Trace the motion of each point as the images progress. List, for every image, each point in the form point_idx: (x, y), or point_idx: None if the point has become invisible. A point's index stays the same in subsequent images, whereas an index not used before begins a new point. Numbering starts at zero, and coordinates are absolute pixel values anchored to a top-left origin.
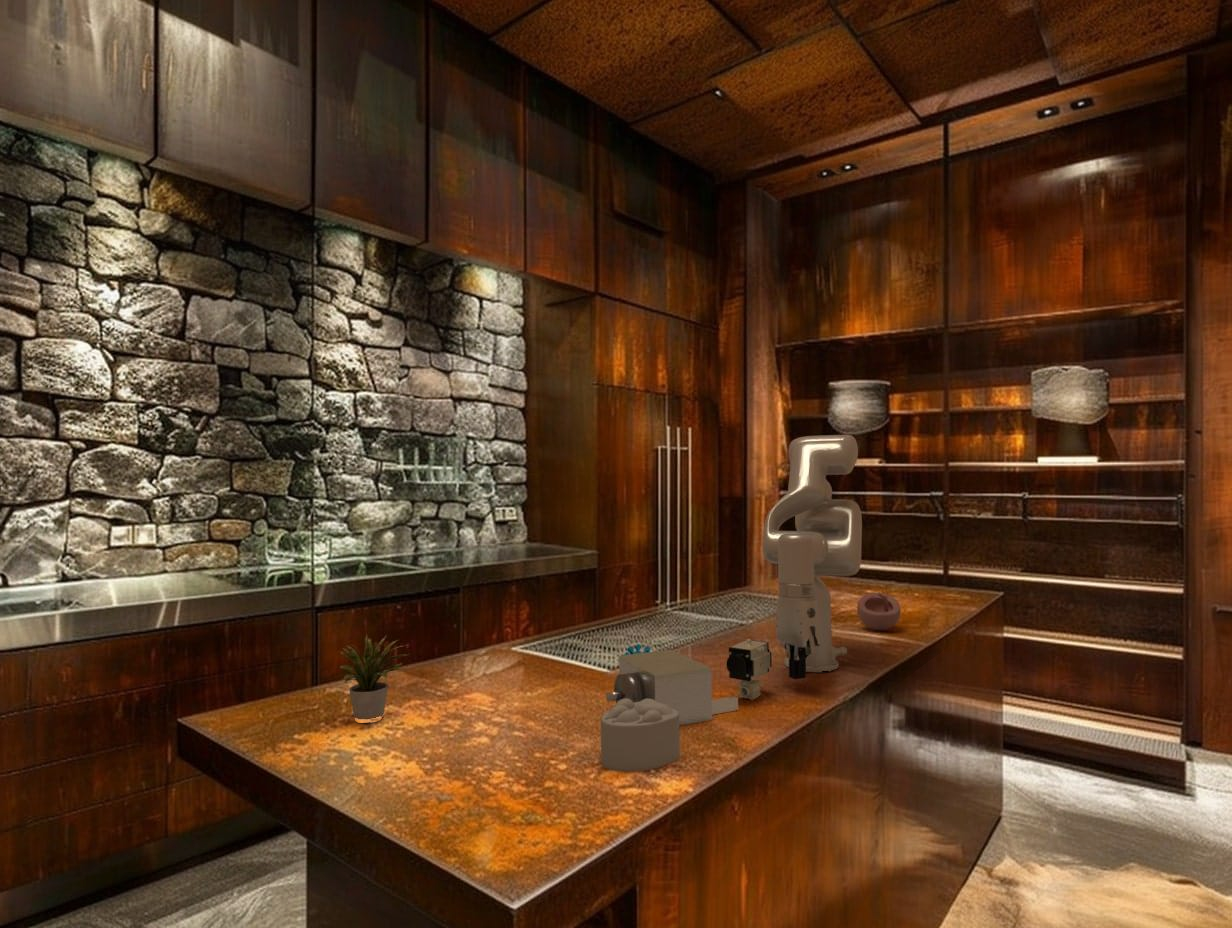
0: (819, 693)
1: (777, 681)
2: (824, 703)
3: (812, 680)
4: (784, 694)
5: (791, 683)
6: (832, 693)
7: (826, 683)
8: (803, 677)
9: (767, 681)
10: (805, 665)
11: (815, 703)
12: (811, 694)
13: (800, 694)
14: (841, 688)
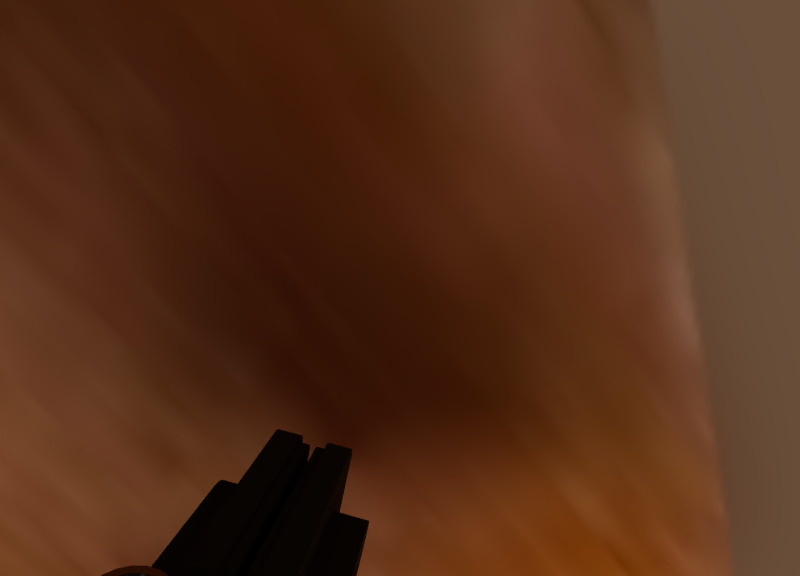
0: (488, 354)
1: (60, 339)
2: (672, 530)
3: (184, 69)
4: None
5: (157, 299)
6: (567, 271)
7: (330, 40)
8: (346, 472)
9: (25, 395)
10: (319, 533)
11: (621, 572)
12: (462, 421)
13: (406, 479)
14: (534, 64)
